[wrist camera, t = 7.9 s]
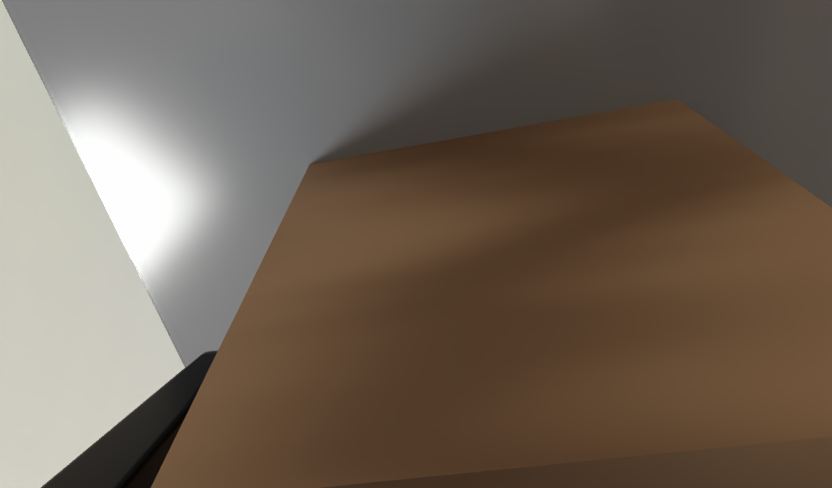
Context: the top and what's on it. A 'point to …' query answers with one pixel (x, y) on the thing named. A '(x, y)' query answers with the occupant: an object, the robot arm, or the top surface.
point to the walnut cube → (531, 320)
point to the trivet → (381, 102)
